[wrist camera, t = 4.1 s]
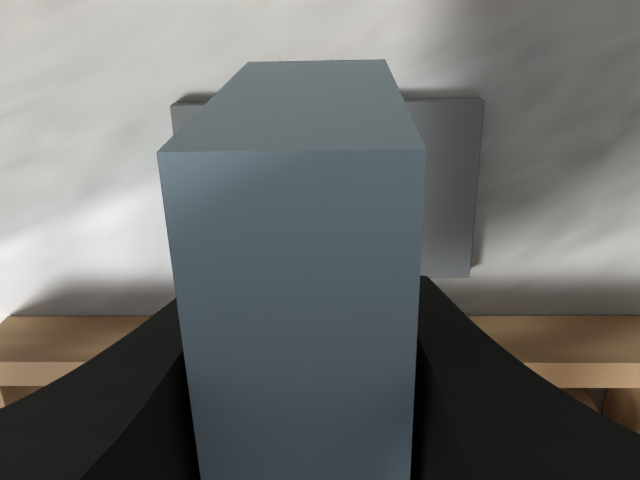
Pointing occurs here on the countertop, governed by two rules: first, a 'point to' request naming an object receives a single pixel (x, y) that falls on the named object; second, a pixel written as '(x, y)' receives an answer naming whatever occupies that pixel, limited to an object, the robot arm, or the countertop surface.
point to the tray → (508, 331)
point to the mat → (433, 177)
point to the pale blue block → (299, 271)
